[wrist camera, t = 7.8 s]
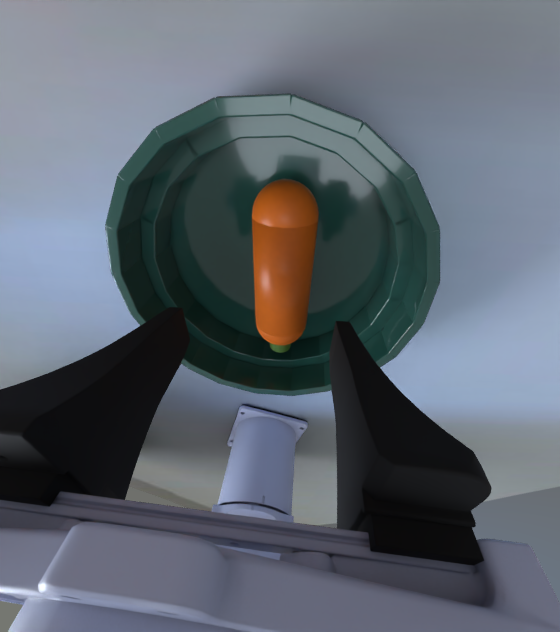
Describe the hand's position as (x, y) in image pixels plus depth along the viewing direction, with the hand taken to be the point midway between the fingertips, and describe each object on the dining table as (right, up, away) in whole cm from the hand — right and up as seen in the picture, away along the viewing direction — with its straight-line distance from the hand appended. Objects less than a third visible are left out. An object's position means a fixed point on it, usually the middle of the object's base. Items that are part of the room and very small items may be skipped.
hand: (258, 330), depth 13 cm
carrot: (+1, +4, +5) cm, 7 cm away
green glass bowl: (+1, +5, +6) cm, 8 cm away
